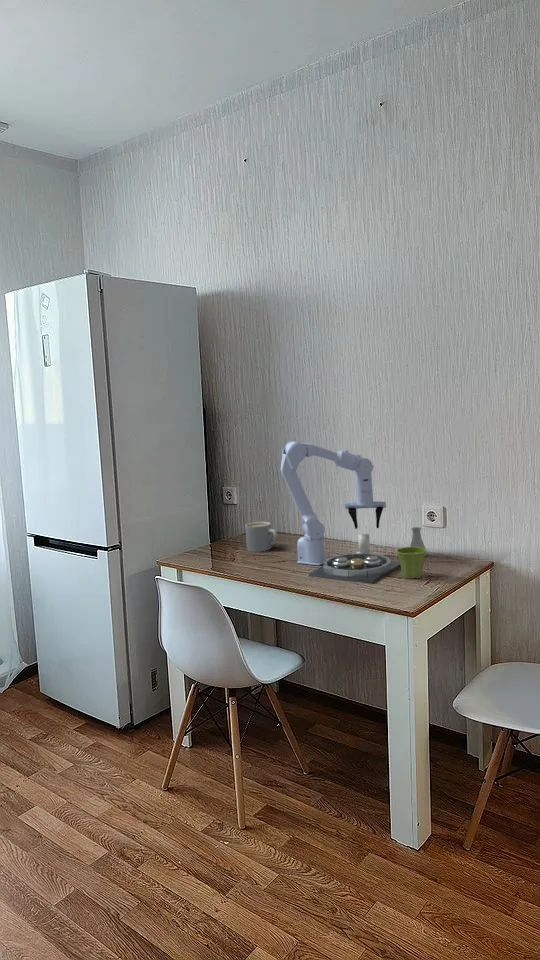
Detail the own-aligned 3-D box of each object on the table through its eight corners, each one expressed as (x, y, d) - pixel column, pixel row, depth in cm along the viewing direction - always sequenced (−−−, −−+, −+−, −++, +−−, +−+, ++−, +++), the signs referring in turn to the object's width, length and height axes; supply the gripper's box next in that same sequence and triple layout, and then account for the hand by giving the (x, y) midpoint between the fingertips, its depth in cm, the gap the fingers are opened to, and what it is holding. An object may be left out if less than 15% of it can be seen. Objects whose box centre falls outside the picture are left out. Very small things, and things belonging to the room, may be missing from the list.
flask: (422, 558, 241) (421, 530, 239) (403, 556, 245) (402, 529, 244) (431, 553, 246) (430, 526, 245) (412, 552, 251) (411, 525, 249)
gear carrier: (309, 575, 229) (308, 565, 229) (343, 558, 248) (343, 549, 248) (372, 583, 216) (372, 572, 215) (404, 564, 235) (403, 554, 234)
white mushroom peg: (353, 557, 248) (352, 536, 247) (361, 553, 253) (360, 532, 252) (368, 559, 245) (367, 537, 244) (375, 555, 250) (374, 533, 249)
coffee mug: (241, 550, 272) (239, 525, 270) (259, 544, 279) (257, 520, 278) (266, 554, 263) (264, 528, 261) (283, 548, 270) (281, 523, 269)
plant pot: (406, 571, 227) (405, 545, 226) (432, 574, 221) (431, 548, 220) (392, 578, 220) (390, 552, 219) (418, 582, 214) (417, 555, 213)
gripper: (385, 488, 248) (388, 524, 250) (345, 489, 251) (348, 526, 253) (384, 491, 241) (386, 529, 243) (343, 493, 245) (346, 530, 247)
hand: (367, 527), depth 248 cm, fingers open, 7 cm apart
